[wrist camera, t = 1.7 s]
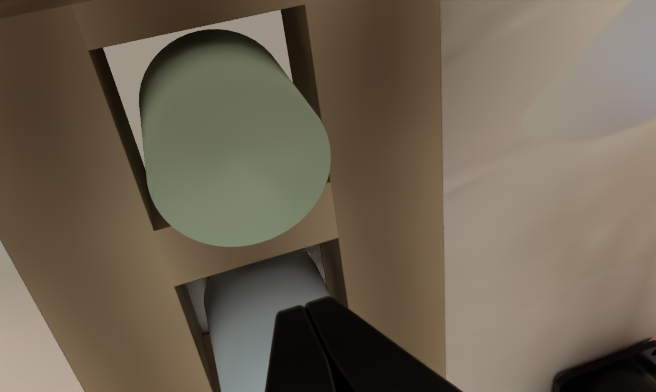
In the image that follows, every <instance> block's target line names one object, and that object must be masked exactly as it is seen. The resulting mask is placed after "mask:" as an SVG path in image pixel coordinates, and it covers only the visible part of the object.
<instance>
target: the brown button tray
mask: <svg viewBox="0 0 656 392" xmlns="http://www.w3.org/2000/svg"><path fill="white" fill-rule="evenodd" d="M276 10H281V14H282V20H283V26H284V32H285V37H286V44H287V50H288V56H289V62H290V67H291V73H292V79H293V84H294V85H295V87H296V88H297V89H298V91H299V92H300V93H301V95H302V96H303V97H304V98H305V100H306V101H307V102H308V104H309V105H310V106H311V108H312V109H313V110H314V112H315V113H316V114H317V116H318V117H319V118H320V120H321V122H322V124H323V126H324V128H325V130H326V133H327V136H328V139H329V144H330V152H331V163H330V171H329V176H328V179H327V182H326V185H325V188H324V190H323V192H322V194H321V196H320V198H319V199H318V201H317V202H316V204H315V205H314V207H313V208H312V209H311V210H310V211H309V213H308V214H307V215H306V216H305V217H304V218H303V219H302V220H301V221H300V222H298V223H297V224H296V225H294V226H293V227H292V228H291V229H289V230H287V231H286V232H284V233H282V234H281V235H278V236H276V237H274V238H272V239H270V240H267V241H264V242H261V243H257V244H253V245H248V246H240V247H222V246H214V245H209V244H205V243H202V242H199V241H196V240H193V239H191V238H189V237H187V236H185V235H183V234H182V233H180V232H179V231H177V230H176V229H175V228H173V227H172V226H171V225H170V224H169V223H168V222H167V221H166V220H165V219H164V218H163V217H162V216H161V214H160V213H159V211H158V210H157V208H156V207H155V205H154V203H153V201H152V198H151V196H150V193H149V189H148V185H147V178H146V170H145V167H144V165H143V162H142V159H141V156H140V153H139V150H138V147H137V144H136V142H135V139H134V136H133V133H132V130H131V127H130V125H129V121H128V119H127V116H126V113H125V110H124V108H123V105H122V102H121V99H120V96H119V93H118V90H117V87H116V84H115V81H114V78H113V76H112V73H111V70H110V67H109V64H108V62H107V59H106V56H105V53H104V50H103V47H107V46H112V45H117V44H121V43H126V42H131V41H135V40H140V39H145V38H150V37H154V36H158V35H164V34H168V33H173V32H178V31H182V30H187V29H192V28H196V27H201V26H205V25H210V24H215V23H220V22H225V21H229V20H234V19H238V18H243V17H248V16H252V15H257V14H262V13H267V12H271V11H276ZM0 240H1V242H2V244H3V245H4V247H5V249H6V251H7V253H8V255H9V256H10V258H11V260H12V262H13V264H14V265H15V267H16V269H17V271H18V273H19V274H20V276H21V278H22V280H23V282H24V283H25V285H26V287H27V289H28V291H29V292H30V294H31V296H32V298H33V300H34V301H35V303H36V305H37V307H38V309H39V311H40V312H41V314H42V316H43V318H44V320H45V321H46V323H47V325H48V327H49V329H50V330H51V332H52V334H53V336H54V338H55V339H56V341H57V343H58V345H59V347H60V348H61V350H62V352H63V354H64V356H65V357H66V359H67V361H68V363H69V365H70V366H71V368H72V370H73V372H74V374H75V375H76V377H77V379H78V381H79V383H80V384H81V386H82V388H83V390H84V392H221V388H220V383H219V378H218V372H217V367H216V362H215V357H214V352H213V347H212V342H211V337H210V333H208V334H205V335H203V334H202V331H201V328H200V325H199V322H198V319H197V317H196V314H195V311H194V308H193V305H192V302H191V299H190V296H189V294H188V291H187V288H186V285H185V283H188V282H191V281H195V280H198V279H201V278H205V277H208V276H211V275H215V274H218V273H221V272H225V271H228V270H232V269H235V268H238V267H242V266H245V265H248V264H252V263H255V262H258V261H262V260H265V259H269V258H272V257H275V256H279V255H282V254H285V253H289V252H292V251H295V250H299V249H302V248H306V247H309V246H312V245H316V244H319V243H320V248H321V254H322V260H323V266H324V272H325V278H326V284H327V289H328V291H329V293H330V295H331V296H332V297H334V298H335V299H336V300H338V301H339V302H341V303H342V304H343V305H345V306H346V307H347V308H349V309H350V310H352V311H353V312H354V313H356V314H357V315H358V316H360V317H361V318H362V319H364V320H365V321H367V322H368V323H369V324H371V325H372V326H373V327H375V328H376V329H378V330H379V331H380V332H382V333H383V334H384V335H386V336H387V337H389V338H390V339H391V340H393V341H394V342H395V343H397V344H398V345H399V346H401V347H402V348H404V349H405V350H406V351H408V352H409V353H410V354H412V355H413V356H415V357H416V358H417V359H419V360H420V361H421V362H423V363H424V364H426V365H427V366H428V367H430V368H431V369H432V370H434V371H435V372H437V373H438V374H439V375H441V376H442V377H443V378H445V379H446V353H445V289H444V224H443V159H442V94H441V29H440V0H0Z"/></svg>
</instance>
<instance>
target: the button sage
mask: <svg viewBox="0 0 656 392" xmlns="http://www.w3.org/2000/svg"><path fill="white" fill-rule="evenodd" d="M139 107H140V117H141V127H142V137H143V148H144V158H145V167H146V178H147V185H148V189H149V193H150V196H151V198H152V201H153V203H154V205H155V207H156V208H157V210H158V211H159V213H160V214H161V216H162V217H163V218H164V219H165V220H166V221H167V222H168V223H169V224H170V225H171V226H172V227H173V228H175V229H176V230H177V231H179V232H180V233H182V234H183V235H185V236H187V237H189V238H191V239H193V240H196V241H199V242H202V243H205V244H209V245H214V246H222V247H240V246H248V245H253V244H257V243H261V242H264V241H267V240H270V239H272V238H274V237H276V236H278V235H281V234H282V233H284V232H286V231H287V230H289V229H291V228H292V227H293V226H294V225H296V224H297V223H298V222H300V221H301V220H302V219H303V218H304V217H305V216H306V215H307V214H308V213H309V211H310V210H311V209H312V208H313V207H314V205H315V204H316V202H317V201H318V199H319V198H320V196H321V194H322V192H323V190H324V188H325V185H326V182H327V179H328V176H329V171H330V163H331V152H330V144H329V139H328V136H327V133H326V130H325V128H324V126H323V124H322V122H321V120H320V118H319V117H318V116H317V114H316V113H315V112H314V110H313V109H312V108H311V106H310V105H309V104H308V102H307V101H306V100H305V98H304V97H303V96H302V95H301V93H300V92H299V91H298V89H297V88H296V87H295V85H294V84H293V83H292V81H291V80H290V79H289V77H288V76H287V75H286V73H285V72H284V71H283V69H282V68H281V67H280V65H279V64H278V63H277V61H276V60H275V59H274V58H273V56H272V55H271V54H270V53H269V52H268V51H267V50H266V49H265V48H264V47H263V46H262V45H260V44H259V43H257V42H256V41H255V40H253V39H251V38H249V37H247V36H245V35H242V34H240V33H237V32H233V31H229V30H220V29H215V30H214V29H208V30H202V31H197V32H193V33H189V34H186V35H184V36H182V37H180V38H178V39H176V40H174V41H173V42H171V43H169V44H168V45H167V46H166V47H165V48H163V49H162V50H161V51H160V52H159V53H158V54H157V55H156V56H155V58H154V59H153V60H152V62H151V63H150V65H149V66H148V68H147V70H146V72H145V74H144V77H143V80H142V83H141V88H140V92H139Z"/></svg>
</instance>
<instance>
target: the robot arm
mask: <svg viewBox="0 0 656 392" xmlns="http://www.w3.org/2000/svg"><path fill="white" fill-rule="evenodd" d="M265 392H463V391H461V390H460V389H458V388H457V387H456V386H454V385H453V384H452V383H450V382H449V381H447V380H446V379H445V378H443V377H442V376H441V375H439V374H438V373H437V372H435V371H434V370H432V369H431V368H430V367H428V366H427V365H426V364H424V363H423V362H421V361H420V360H419V359H417V358H416V357H415V356H413V355H412V354H410V353H409V352H408V351H406V350H405V349H404V348H402V347H401V346H399V345H398V344H397V343H395V342H394V341H393V340H391V339H390V338H389V337H387V336H386V335H384V334H383V333H382V332H380V331H379V330H378V329H376V328H375V327H373V326H372V325H371V324H369V323H368V322H367V321H365V320H364V319H362V318H361V317H360V316H358V315H357V314H356V313H354V312H353V311H352V310H350V309H349V308H347V307H346V306H345V305H343V304H342V303H341V302H339V301H338V300H336V299H335V298H334V297H332V296H324V297H321V298H318V299H315V300H312V301H309V302H307V303H306V304H305V307H304V306H303V305H296V306H293V307H290V308H286V309H283V310H280V311H278V312H277V314H276V317H275V323H274V330H273V337H272V344H271V351H270V358H269V365H268V371H267V378H266V385H265ZM554 392H656V340H653V341H650V342H647V343H644V344H642V345H639V346H636V347H634V348H631V349H628V350H626V351H623V352H620V353H618V354H615V355H612V356H610V357H607V358H604V359H602V360H599V361H596V362H594V363H591V364H588V365H586V366H583V367H580V368H578V369H575V370H572V371H570V372H567V373H564V374H562V375H561V376H559V377H558V378H557V380H556V381H555V386H554Z"/></svg>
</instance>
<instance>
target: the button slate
mask: <svg viewBox="0 0 656 392" xmlns="http://www.w3.org/2000/svg"><path fill="white" fill-rule="evenodd" d="M324 296H331V295H330V293H329V291H328V289H327V287H326V285H325V283H324V281H323V279H322V277H321V275H320V272H319V270H318V268H317V266H316V264H315V263H314V261H313V260H312V258H311V257H310V256H309V255H308V254H306V253H305V252H304V251H302V250H300V249H299V250H295V251H292V252H289V253H285V254H282V255H279V256H275V257H272V258H269V259H265V260H262V261H258V262H255V263H252V264H248V265H245V266H242V267H238V268H235V269H232V270H228V271H225V272H221V273H218V274H215V275H211V276H210V278H209V280H208V282H207V284H206V287H205V291H204V307H205V312H206V317H207V322H208V327H209V332H210V337H211V342H212V347H213V352H214V357H215V362H216V367H217V372H218V378H219V383H220V388H221V392H265V385H266V378H267V371H268V365H269V358H270V351H271V344H272V337H273V330H274V323H275V317H276V314H277V312H278V311H280V310H283V309H286V308H290V307H293V306H296V305H303V306H304V307H305V304H306V303H307V302H309V301H312V300H315V299H318V298H321V297H324Z"/></svg>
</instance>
